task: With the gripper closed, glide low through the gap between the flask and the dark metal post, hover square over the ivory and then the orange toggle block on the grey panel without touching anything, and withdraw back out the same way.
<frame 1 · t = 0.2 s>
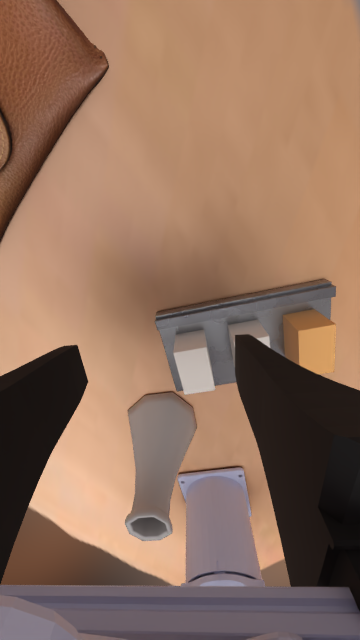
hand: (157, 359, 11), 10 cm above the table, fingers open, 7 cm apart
toggle mid: (245, 342, 20), point 1 cm above the table, touching panel
panel: (242, 337, 21), on the table
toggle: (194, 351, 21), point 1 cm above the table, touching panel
toggle orange: (299, 333, 20), point 1 cm above the table, touching panel
flask: (163, 415, 26), on the table
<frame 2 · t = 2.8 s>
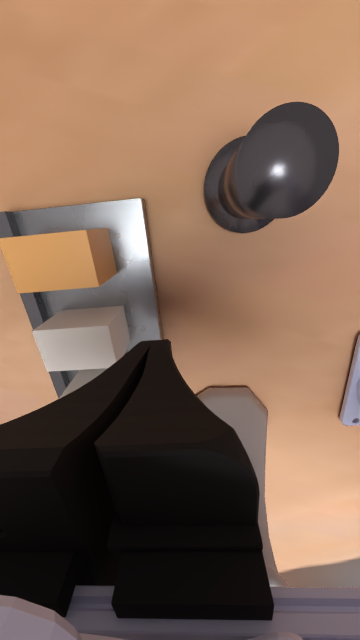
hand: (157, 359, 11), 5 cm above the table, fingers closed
toggle mid: (96, 326, 15), point 1 cm above the table, touching panel
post: (244, 188, 13), on the table
panel: (101, 320, 16), on the table
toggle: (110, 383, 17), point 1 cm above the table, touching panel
toggle orange: (78, 254, 13), point 1 cm above the table, touching panel
flask: (222, 417, 19), on the table
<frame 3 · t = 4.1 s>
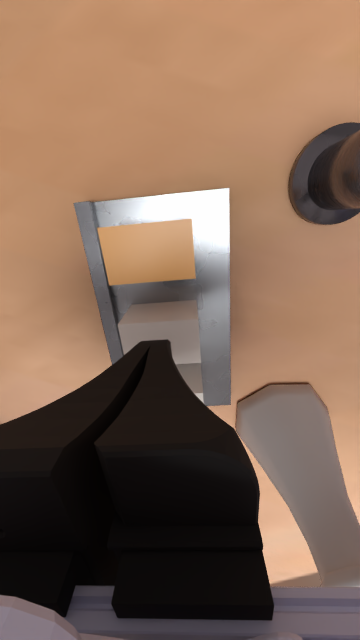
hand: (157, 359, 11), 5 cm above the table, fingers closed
toggle mid: (165, 321, 15), point 1 cm above the table, touching panel
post: (331, 179, 12), on the table
panel: (167, 315, 16), on the table
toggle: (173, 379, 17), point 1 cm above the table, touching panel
toggle orange: (156, 246, 13), point 1 cm above the table, touching panel
flask: (277, 415, 19), on the table
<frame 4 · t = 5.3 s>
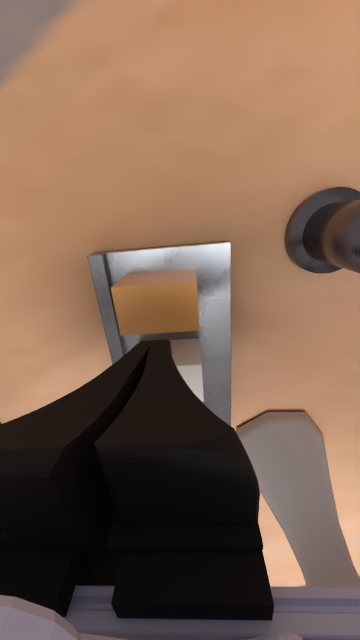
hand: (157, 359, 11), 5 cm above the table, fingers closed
toggle mid: (170, 356, 16), point 1 cm above the table, touching panel
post: (325, 232, 13), on the table
panel: (171, 349, 17), on the table
toggle orange: (162, 292, 14), point 1 cm above the table, touching panel
flask: (275, 438, 20), on the table
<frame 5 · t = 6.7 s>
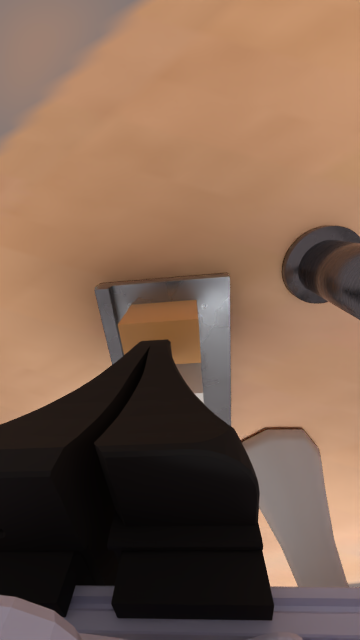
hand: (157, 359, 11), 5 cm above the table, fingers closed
toggle mid: (173, 379, 17), point 1 cm above the table, touching panel
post: (319, 265, 14), on the table
panel: (173, 371, 17), on the table
toggle orange: (165, 321, 15), point 1 cm above the table, touching panel
flask: (274, 453, 21), on the table
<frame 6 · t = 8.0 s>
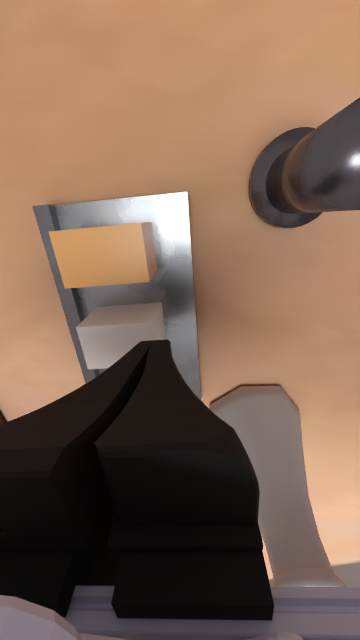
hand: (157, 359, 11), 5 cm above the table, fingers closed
toggle mid: (132, 323, 15), point 1 cm above the table, touching panel
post: (291, 182, 12), on the table
panel: (135, 317, 16), on the table
toggle orange: (119, 249, 13), point 1 cm above the table, touching panel
flask: (251, 416, 19), on the table
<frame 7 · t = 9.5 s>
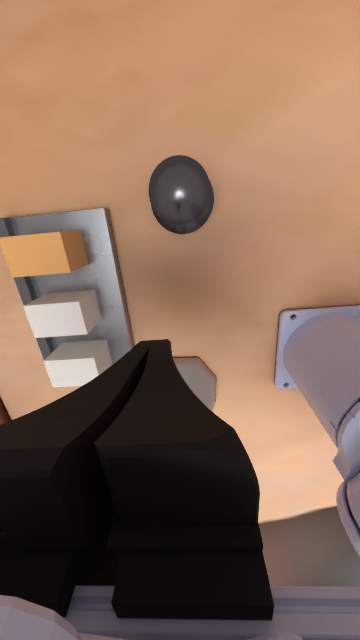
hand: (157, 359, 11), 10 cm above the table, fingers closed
toggle mid: (74, 306, 19), point 1 cm above the table, touching panel
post: (182, 201, 17), on the table
panel: (79, 302, 20), on the table
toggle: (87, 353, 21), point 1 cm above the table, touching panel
toggle orange: (59, 249, 18), point 1 cm above the table, touching panel
flask: (181, 384, 24), on the table
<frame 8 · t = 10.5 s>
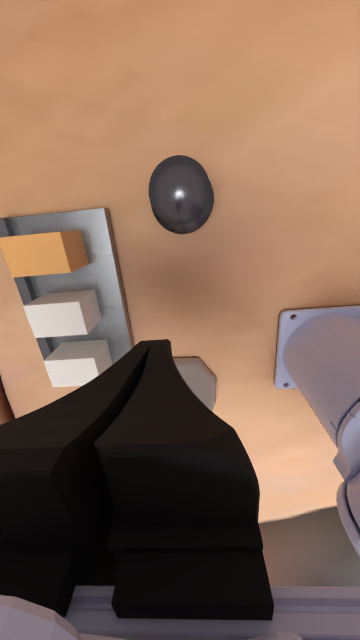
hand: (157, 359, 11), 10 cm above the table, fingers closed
toggle mid: (74, 306, 19), point 1 cm above the table, touching panel
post: (182, 201, 17), on the table
panel: (79, 302, 20), on the table
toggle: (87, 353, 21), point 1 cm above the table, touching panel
toggle orange: (59, 249, 18), point 1 cm above the table, touching panel
flask: (181, 384, 24), on the table
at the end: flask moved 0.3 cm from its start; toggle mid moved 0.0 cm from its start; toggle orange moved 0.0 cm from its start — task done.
